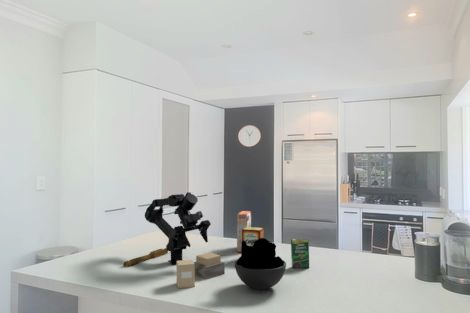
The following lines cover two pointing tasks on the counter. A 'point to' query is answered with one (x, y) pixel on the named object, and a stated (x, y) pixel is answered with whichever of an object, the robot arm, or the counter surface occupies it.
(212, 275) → the block
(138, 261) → the tap handle
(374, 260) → the counter surface
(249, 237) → the baking soda box
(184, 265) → the box
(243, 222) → the cracker box
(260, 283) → the coal bowl
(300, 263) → the coffee box
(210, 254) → the box lid
